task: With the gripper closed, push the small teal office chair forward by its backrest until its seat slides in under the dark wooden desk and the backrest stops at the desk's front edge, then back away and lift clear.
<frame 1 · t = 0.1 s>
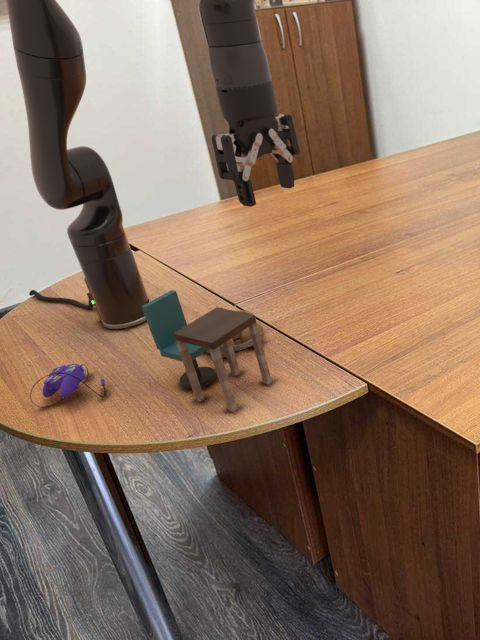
hand: (269, 196, 97), 29 cm above the table, tool pointing down, fingers open, 8 cm apart
desk: (234, 391, 106), on the table
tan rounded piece: (232, 344, 119), on the table
chair: (184, 341, 105), point 8 cm above the table, slide at 0.0 cm
game controller: (79, 394, 108), on the table
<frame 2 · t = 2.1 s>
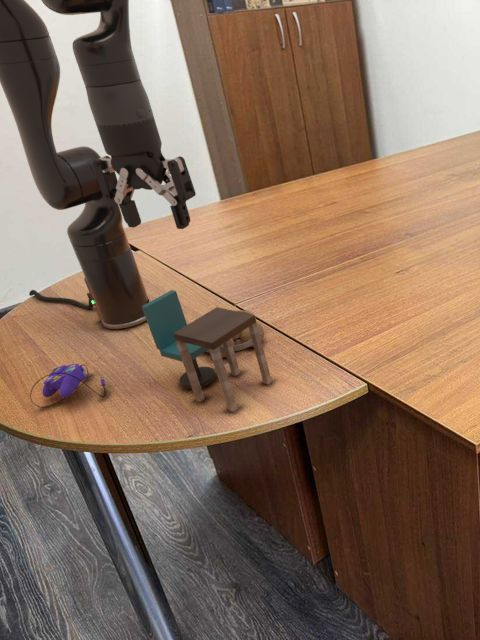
hand: (159, 226, 100), 26 cm above the table, tool pointing down, fingers open, 8 cm apart
nothing on the table moved.
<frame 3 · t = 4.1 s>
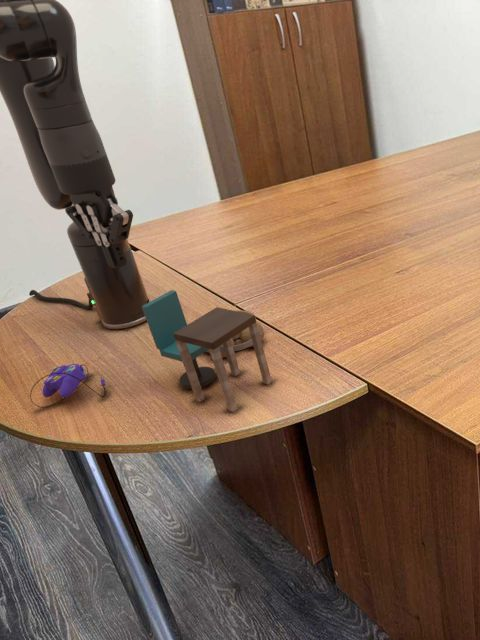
hand: (118, 265, 103), 19 cm above the table, tool pointing down, fingers closed
nothing on the table moved.
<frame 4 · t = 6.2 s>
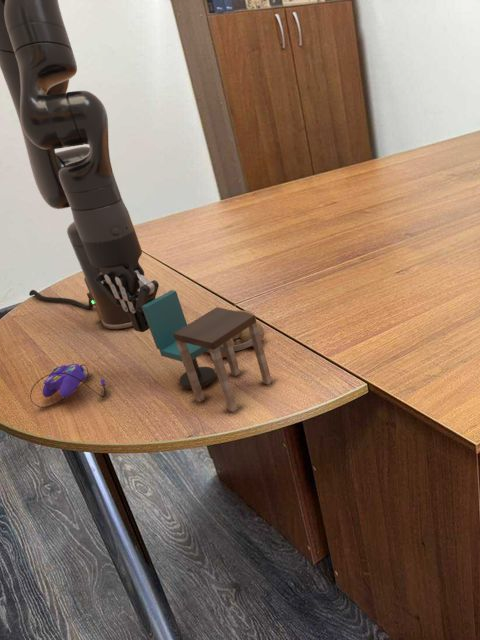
hand: (143, 329, 109), 8 cm above the table, tool pointing down, fingers closed
nothing on the table moved.
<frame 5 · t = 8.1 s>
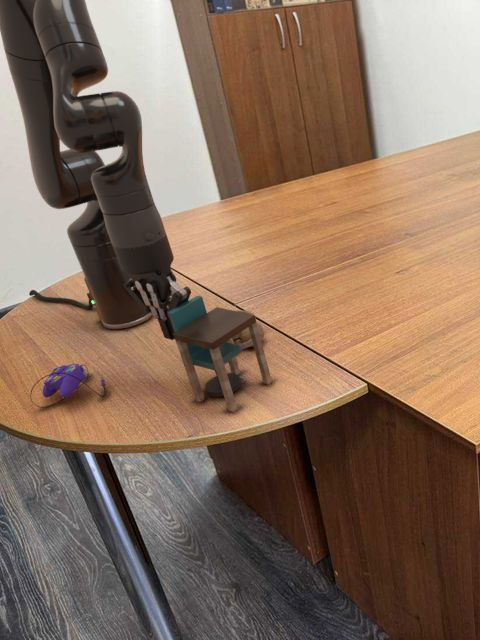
hand: (173, 336, 106), 8 cm above the table, tool pointing down, fingers closed
chair: (210, 348, 103), point 8 cm above the table, slide at 5.7 cm, touching hand
everything else where it was.
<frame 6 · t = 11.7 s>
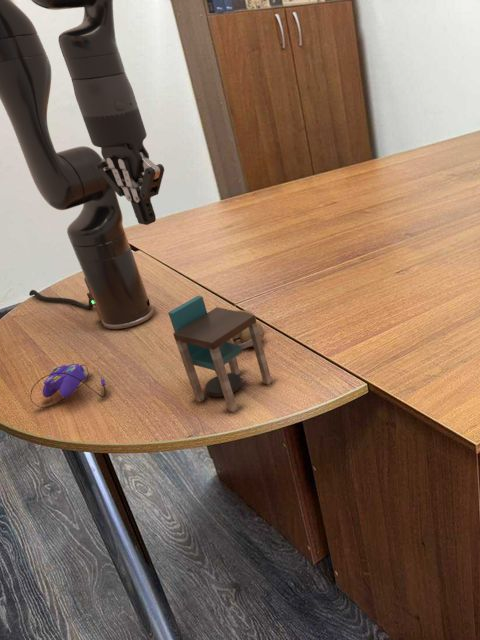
hand: (147, 222, 103), 25 cm above the table, tool pointing down, fingers closed
chair: (211, 348, 103), point 8 cm above the table, slide at 5.8 cm
everything else where it was.
at the end: chair slide at 5.8 cm; chair 2.2 cm off-centre on the desk, point 7.6 cm above the desk's base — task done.
